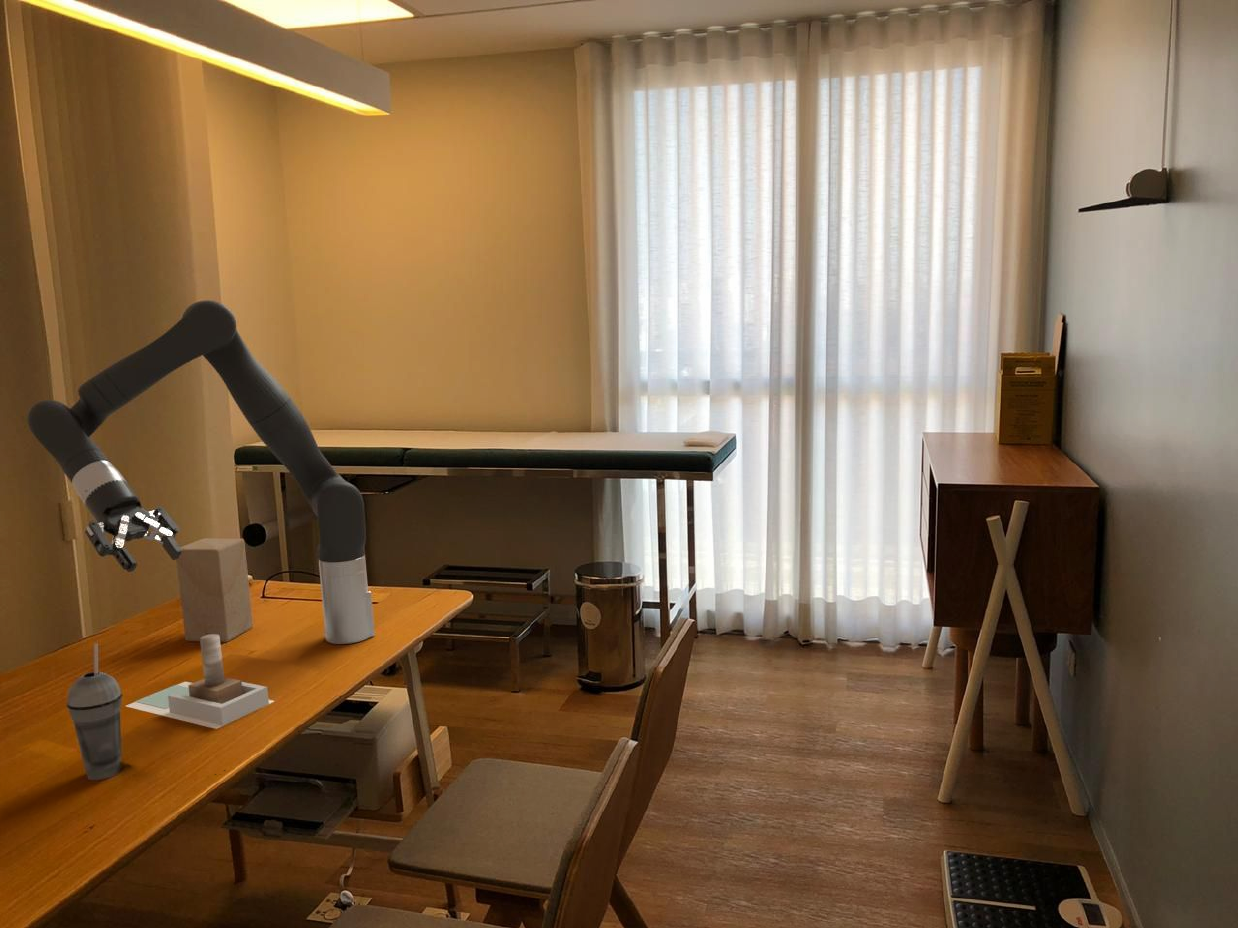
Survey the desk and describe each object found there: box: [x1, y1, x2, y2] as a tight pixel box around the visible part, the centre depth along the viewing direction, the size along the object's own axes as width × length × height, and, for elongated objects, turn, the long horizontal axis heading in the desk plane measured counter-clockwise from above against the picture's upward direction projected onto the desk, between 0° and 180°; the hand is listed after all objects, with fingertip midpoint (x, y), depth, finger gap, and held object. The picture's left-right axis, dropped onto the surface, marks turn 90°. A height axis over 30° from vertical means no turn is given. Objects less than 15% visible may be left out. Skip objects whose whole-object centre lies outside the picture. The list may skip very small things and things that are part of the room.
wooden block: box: [175, 537, 254, 643], centre depth 206 cm, size 10×10×20 cm
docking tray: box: [124, 681, 276, 730], centre depth 166 cm, size 23×12×4 cm, turn 62°
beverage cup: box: [66, 643, 123, 781], centre depth 143 cm, size 7×7×20 cm
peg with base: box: [188, 634, 243, 704], centre depth 163 cm, size 7×5×12 cm
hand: (156, 562), depth 166 cm, fingers open, 8 cm apart
